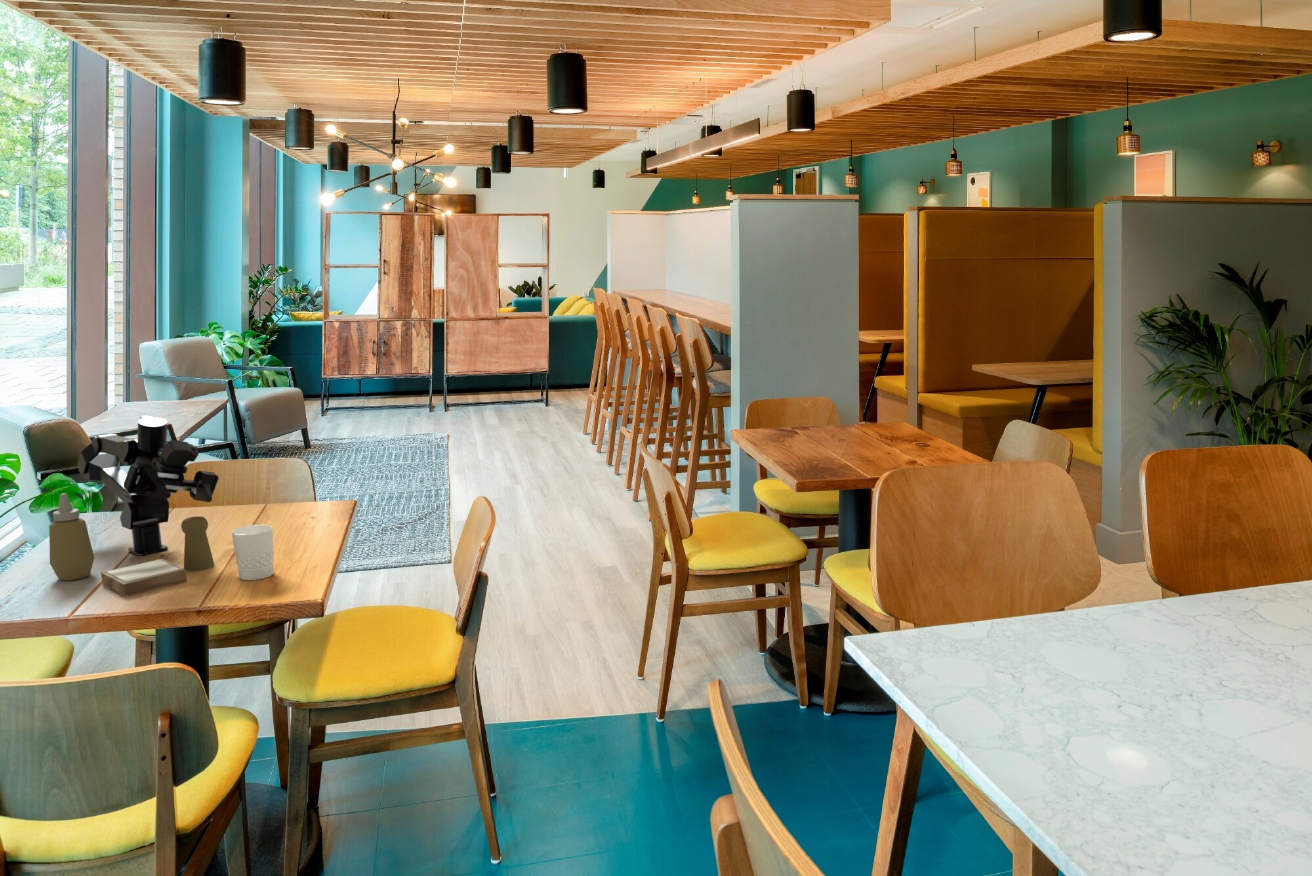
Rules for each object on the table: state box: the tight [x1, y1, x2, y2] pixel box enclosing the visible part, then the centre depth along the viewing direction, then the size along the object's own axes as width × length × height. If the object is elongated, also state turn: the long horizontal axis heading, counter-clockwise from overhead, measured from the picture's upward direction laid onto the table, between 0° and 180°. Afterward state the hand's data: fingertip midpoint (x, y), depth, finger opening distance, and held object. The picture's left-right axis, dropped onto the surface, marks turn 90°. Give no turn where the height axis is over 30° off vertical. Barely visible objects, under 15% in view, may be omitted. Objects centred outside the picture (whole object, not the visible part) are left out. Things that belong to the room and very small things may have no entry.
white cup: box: [231, 524, 275, 581], centre depth 202 cm, size 8×8×10 cm
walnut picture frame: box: [100, 558, 188, 597], centre depth 200 cm, size 12×12×3 cm
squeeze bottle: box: [48, 493, 95, 581], centre depth 203 cm, size 8×8×18 cm
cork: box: [180, 515, 215, 572], centre depth 209 cm, size 6×6×11 cm
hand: (190, 498), depth 204 cm, fingers open, 9 cm apart
